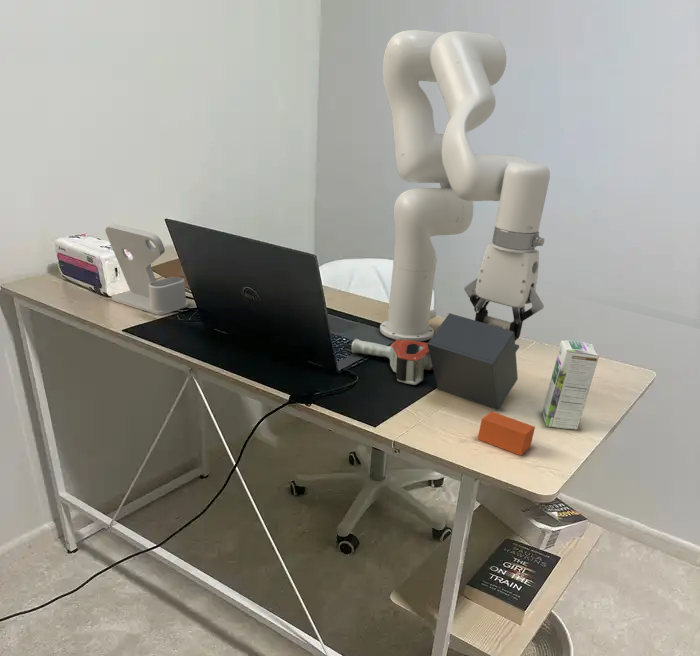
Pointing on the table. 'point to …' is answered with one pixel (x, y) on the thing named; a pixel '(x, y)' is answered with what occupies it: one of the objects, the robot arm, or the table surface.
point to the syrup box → (570, 384)
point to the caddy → (475, 359)
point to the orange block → (506, 433)
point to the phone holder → (144, 272)
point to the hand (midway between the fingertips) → (495, 335)
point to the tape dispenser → (399, 358)
